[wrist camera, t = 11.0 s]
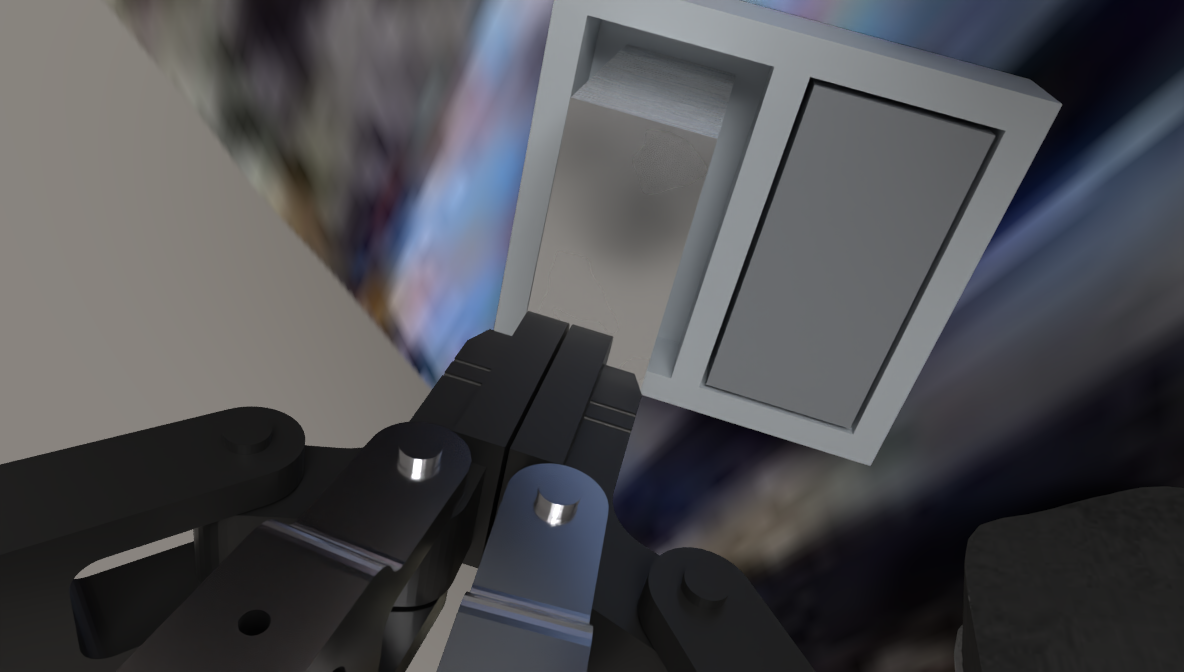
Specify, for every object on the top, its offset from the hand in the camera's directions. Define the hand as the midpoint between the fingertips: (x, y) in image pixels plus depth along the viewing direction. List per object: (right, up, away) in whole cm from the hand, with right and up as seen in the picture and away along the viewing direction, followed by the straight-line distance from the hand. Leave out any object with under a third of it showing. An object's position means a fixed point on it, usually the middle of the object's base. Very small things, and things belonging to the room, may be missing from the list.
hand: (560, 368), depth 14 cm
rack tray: (+5, +4, +8) cm, 10 cm away
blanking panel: (+2, +4, +8) cm, 9 cm away
